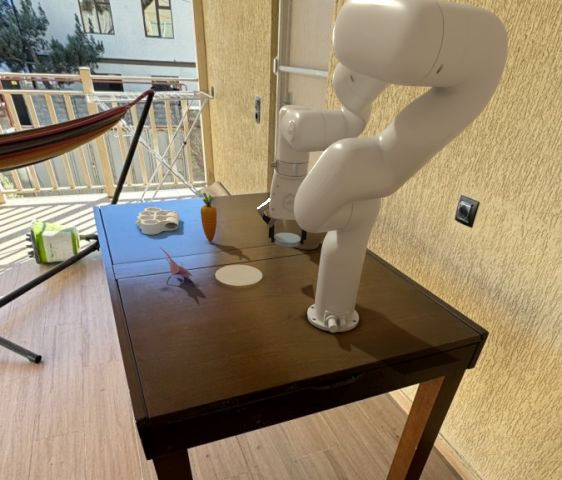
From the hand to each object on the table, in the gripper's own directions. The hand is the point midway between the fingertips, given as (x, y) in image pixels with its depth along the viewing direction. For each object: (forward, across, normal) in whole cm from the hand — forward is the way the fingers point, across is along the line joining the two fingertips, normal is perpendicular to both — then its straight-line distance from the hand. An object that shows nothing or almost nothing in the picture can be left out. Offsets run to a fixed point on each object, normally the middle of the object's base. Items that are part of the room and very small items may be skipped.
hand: (287, 241), depth 104 cm
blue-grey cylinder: (+1, 0, 0) cm, 1 cm away
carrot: (+11, -24, +23) cm, 35 cm away
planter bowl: (+11, +7, +25) cm, 28 cm away
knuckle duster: (+11, -44, +36) cm, 58 cm away
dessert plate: (+11, -13, -2) cm, 17 cm away
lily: (+11, -28, -7) cm, 31 cm away
